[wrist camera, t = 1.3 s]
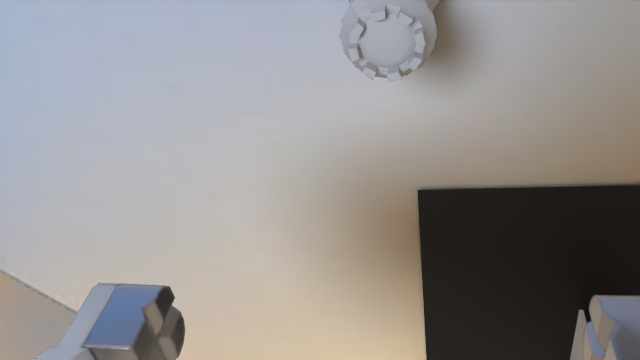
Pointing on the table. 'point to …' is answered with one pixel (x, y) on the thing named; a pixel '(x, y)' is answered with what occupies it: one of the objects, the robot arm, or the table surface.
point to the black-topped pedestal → (523, 267)
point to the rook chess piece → (388, 36)
